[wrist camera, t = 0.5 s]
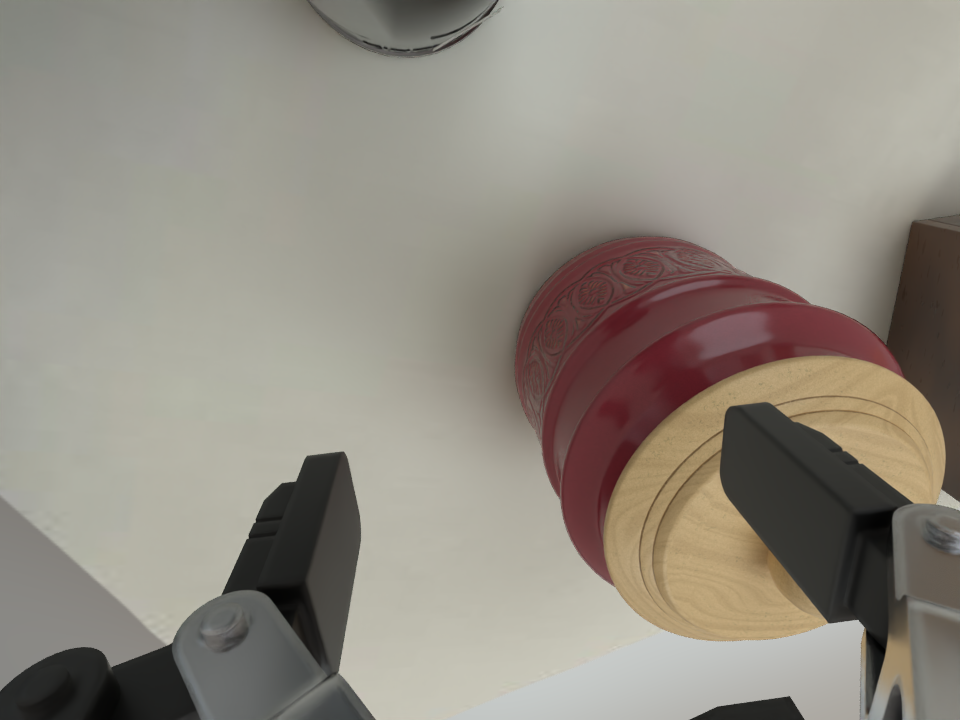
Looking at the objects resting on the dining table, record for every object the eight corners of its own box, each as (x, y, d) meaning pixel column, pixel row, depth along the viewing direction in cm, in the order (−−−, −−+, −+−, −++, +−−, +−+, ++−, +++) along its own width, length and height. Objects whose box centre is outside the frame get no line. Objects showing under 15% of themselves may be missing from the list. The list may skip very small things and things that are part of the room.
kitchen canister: (784, 316, 31) (1179, 536, 15) (633, 480, 35) (820, 798, 19) (615, 177, 27) (907, 274, 11) (463, 379, 30) (514, 675, 14)
